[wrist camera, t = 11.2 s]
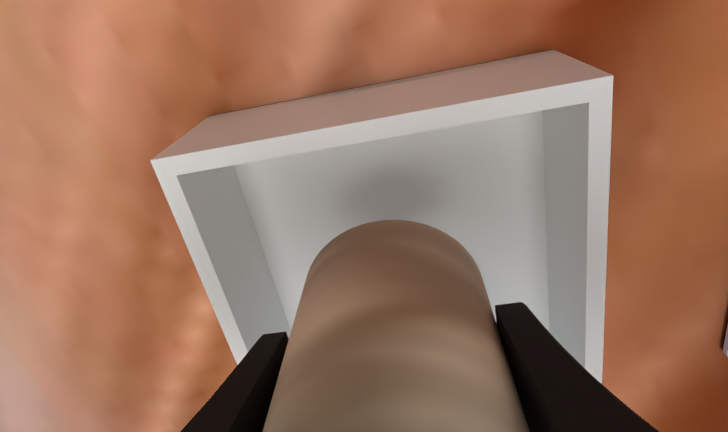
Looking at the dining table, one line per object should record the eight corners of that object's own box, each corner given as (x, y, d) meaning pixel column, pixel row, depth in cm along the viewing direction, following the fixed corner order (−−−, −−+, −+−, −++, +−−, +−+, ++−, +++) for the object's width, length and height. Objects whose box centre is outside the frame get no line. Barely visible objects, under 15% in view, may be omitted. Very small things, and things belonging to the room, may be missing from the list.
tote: (553, 49, 17) (613, 75, 12) (559, 392, 24) (598, 486, 20) (208, 116, 18) (150, 160, 14) (314, 416, 26) (298, 507, 21)
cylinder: (472, 203, 12) (566, 460, 5) (493, 353, 14) (579, 664, 7) (281, 237, 12) (170, 500, 6) (330, 375, 14) (284, 674, 8)
